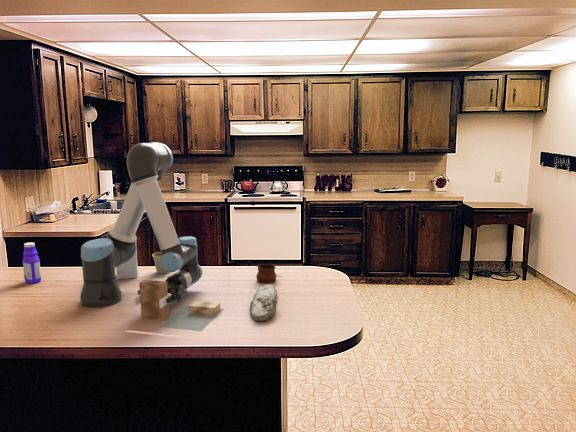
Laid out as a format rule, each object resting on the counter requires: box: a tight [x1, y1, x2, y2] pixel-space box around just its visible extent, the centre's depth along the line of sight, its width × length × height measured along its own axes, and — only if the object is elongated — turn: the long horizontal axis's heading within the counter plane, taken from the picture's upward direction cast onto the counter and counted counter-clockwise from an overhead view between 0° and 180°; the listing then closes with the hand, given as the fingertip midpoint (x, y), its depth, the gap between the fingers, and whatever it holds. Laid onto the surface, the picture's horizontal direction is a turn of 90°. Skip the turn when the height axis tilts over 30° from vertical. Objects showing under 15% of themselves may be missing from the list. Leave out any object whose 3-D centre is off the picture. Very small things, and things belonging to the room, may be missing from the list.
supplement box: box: [115, 249, 139, 280], centre depth 218 cm, size 9×9×15 cm
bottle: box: [22, 242, 42, 284], centre depth 210 cm, size 7×6×17 cm
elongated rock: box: [249, 283, 278, 322], centre depth 182 cm, size 35×5×10 cm
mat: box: [159, 305, 224, 332], centre depth 169 cm, size 15×20×1 cm
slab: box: [138, 279, 170, 321], centre depth 168 cm, size 9×3×14 cm, turn 76°
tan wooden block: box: [188, 300, 222, 317], centre depth 173 cm, size 10×5×3 cm, turn 76°
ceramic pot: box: [255, 263, 283, 284], centre depth 210 cm, size 18×18×7 cm
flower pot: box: [151, 251, 170, 275], centre depth 224 cm, size 9×9×9 cm
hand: (147, 303), depth 163 cm, fingers closed on slab, 9 cm apart
